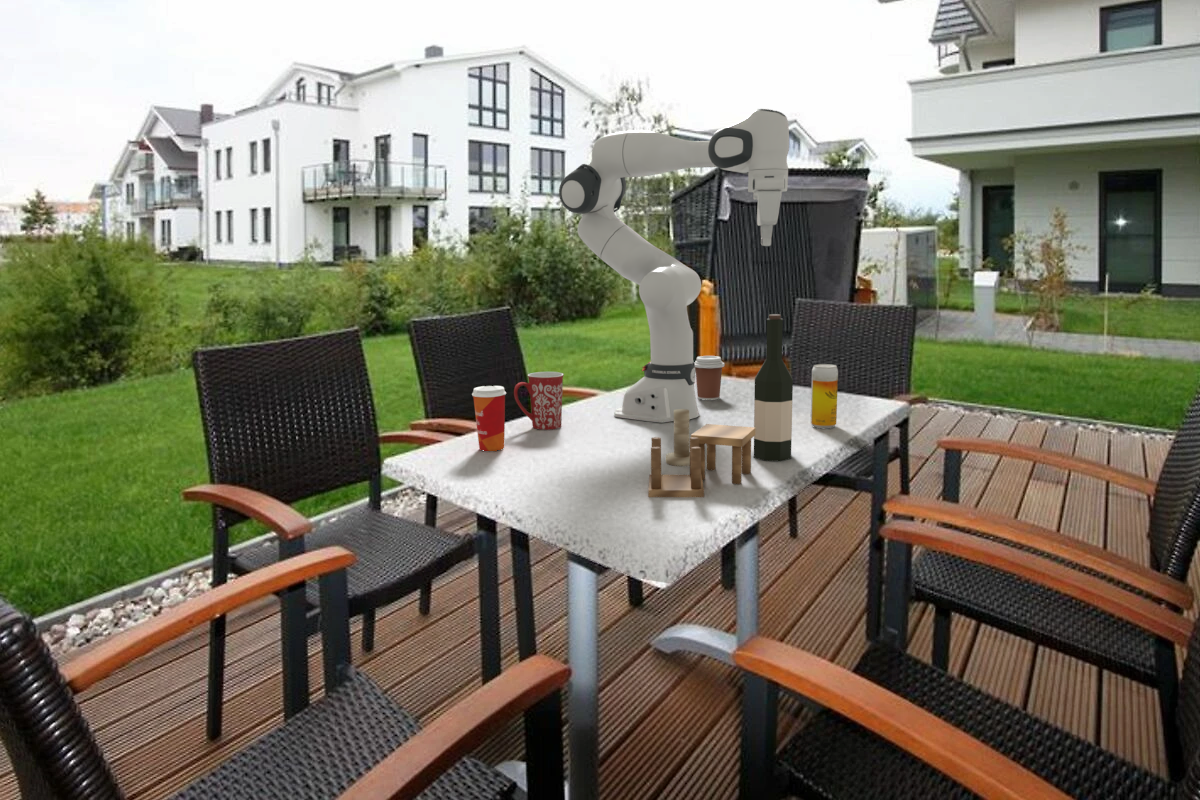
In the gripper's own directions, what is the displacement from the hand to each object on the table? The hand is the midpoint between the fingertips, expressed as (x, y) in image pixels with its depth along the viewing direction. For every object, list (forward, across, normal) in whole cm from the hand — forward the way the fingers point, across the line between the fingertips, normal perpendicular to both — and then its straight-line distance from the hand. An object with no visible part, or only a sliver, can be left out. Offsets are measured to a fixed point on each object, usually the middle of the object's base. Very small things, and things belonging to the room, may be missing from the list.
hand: (765, 245), depth 187 cm
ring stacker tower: (+44, +30, -17) cm, 56 cm away
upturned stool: (+44, +48, -17) cm, 68 cm away
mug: (+45, 0, -54) cm, 70 cm away
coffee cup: (+44, -40, -13) cm, 61 cm away
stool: (+44, +40, -9) cm, 60 cm away
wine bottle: (+44, +24, +2) cm, 50 cm away
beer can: (+44, -5, +15) cm, 47 cm away
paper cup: (+45, +22, -61) cm, 79 cm away
